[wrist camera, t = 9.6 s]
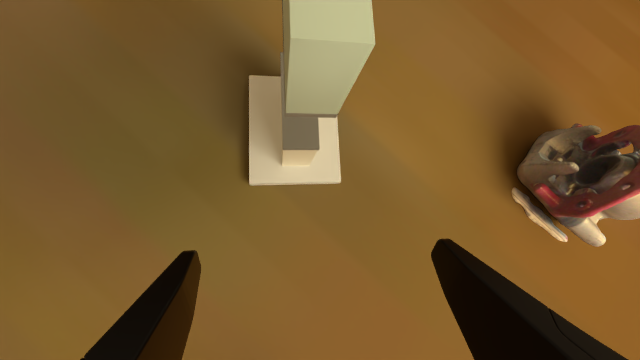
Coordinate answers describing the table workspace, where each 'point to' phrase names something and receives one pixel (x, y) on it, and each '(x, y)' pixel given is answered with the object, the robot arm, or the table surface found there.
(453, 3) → the table surface
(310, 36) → the pale green block
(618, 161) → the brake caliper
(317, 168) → the cream stepped block
